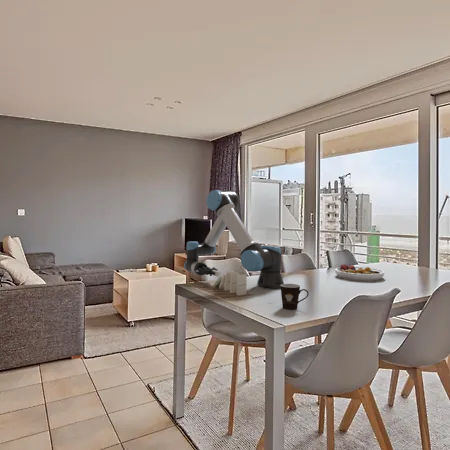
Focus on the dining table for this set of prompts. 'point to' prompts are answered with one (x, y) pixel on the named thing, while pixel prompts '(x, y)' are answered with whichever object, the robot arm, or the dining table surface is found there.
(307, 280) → the dining table surface
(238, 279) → the domino
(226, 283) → the domino
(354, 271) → the bowl
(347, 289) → the dining table surface
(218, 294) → the board
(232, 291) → the domino
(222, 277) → the domino
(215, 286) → the domino
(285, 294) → the coffee mug
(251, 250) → the robot arm
